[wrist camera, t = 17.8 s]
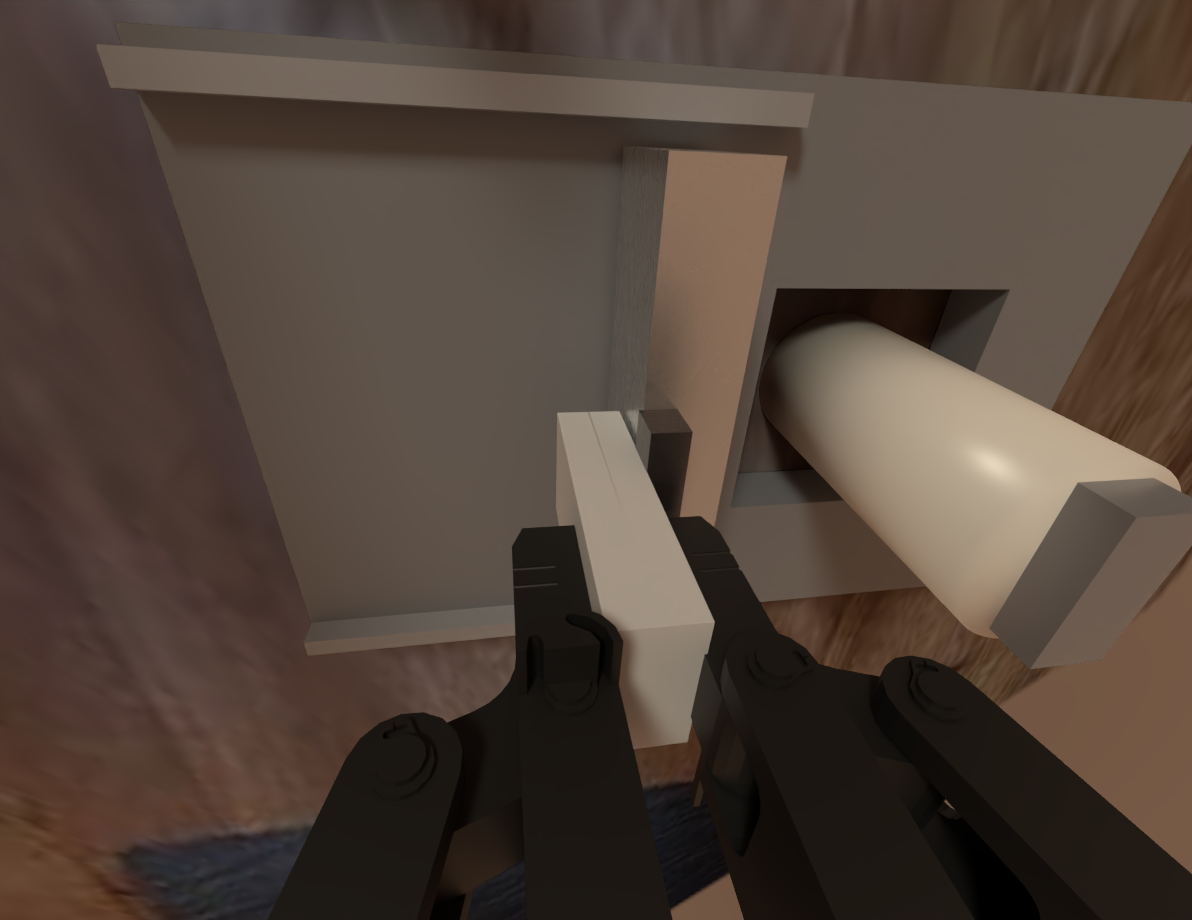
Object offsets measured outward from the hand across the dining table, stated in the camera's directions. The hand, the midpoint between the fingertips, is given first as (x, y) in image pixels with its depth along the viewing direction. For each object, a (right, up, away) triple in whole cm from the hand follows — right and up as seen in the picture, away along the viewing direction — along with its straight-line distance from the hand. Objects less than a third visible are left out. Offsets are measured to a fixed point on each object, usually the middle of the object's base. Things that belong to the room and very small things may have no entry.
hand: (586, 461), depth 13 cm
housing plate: (+3, +2, +4) cm, 6 cm away
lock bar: (+1, +1, +2) cm, 3 cm away
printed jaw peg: (+8, +3, +5) cm, 9 cm away
